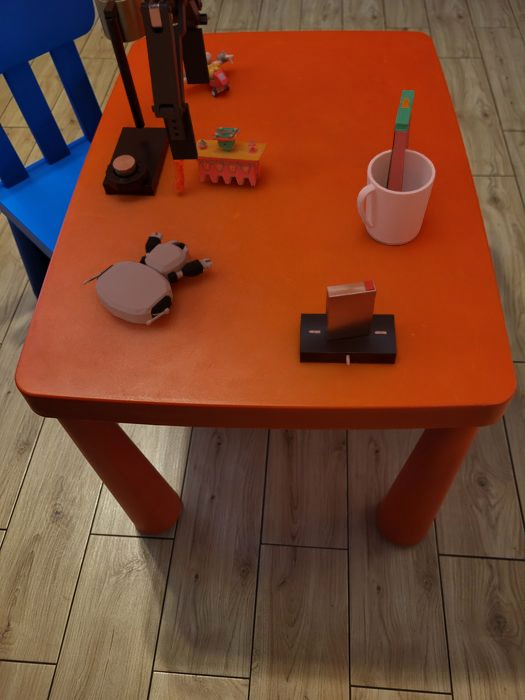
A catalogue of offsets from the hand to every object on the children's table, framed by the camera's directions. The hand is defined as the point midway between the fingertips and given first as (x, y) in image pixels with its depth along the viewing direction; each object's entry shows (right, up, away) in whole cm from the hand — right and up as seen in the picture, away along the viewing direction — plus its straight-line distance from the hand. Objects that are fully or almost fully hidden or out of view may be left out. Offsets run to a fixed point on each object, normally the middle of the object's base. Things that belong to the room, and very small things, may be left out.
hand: (192, 118), depth 71 cm
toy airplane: (-2, +22, +41) cm, 47 cm away
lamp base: (-12, +4, +30) cm, 33 cm away
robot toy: (-7, -18, +16) cm, 25 cm away
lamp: (-12, +14, +32) cm, 37 cm away
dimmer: (+19, -26, +9) cm, 33 cm away
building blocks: (+12, -1, +24) cm, 27 cm away
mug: (+26, -9, +19) cm, 34 cm away
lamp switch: (-13, +1, +24) cm, 28 cm away
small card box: (+19, -25, +7) cm, 32 cm away
